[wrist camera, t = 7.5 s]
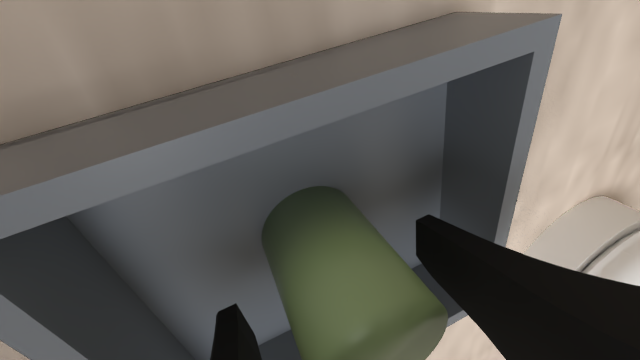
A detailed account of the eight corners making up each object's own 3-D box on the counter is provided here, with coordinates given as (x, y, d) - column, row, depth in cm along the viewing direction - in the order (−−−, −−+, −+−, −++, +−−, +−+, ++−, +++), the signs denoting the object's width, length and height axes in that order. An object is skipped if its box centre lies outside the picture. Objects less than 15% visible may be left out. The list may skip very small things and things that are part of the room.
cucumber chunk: (278, 281, 14) (329, 424, 9) (246, 212, 11) (294, 358, 7) (359, 242, 15) (444, 354, 10) (346, 170, 12) (451, 273, 8)
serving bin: (197, 374, 16) (200, 467, 13) (-18, 149, 8) (-151, 245, 5) (440, 252, 19) (492, 301, 16) (456, 12, 11) (562, 13, 8)
